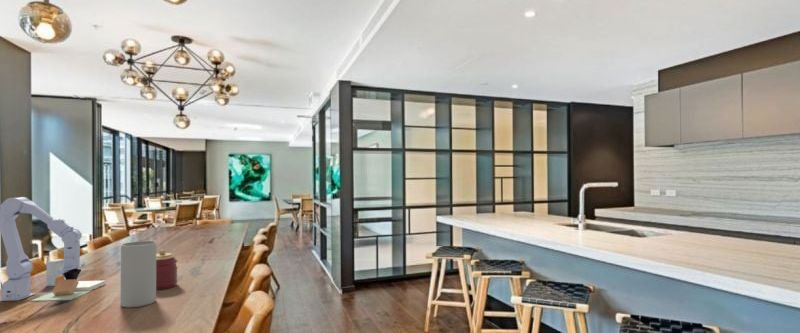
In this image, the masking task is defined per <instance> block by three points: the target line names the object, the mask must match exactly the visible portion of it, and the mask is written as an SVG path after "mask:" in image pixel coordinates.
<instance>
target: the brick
mask: <svg viewBox="0 0 800 333" xmlns="http://www.w3.org/2000/svg"><path fill="white" fill-rule="evenodd" d="M77 285H78V280H76V279H70V280H66V279H64V280H58V282H57V284H56V285H55V286H53V288H52V290H51V293H53V294H54V295H72V294H73V293H74V291H75V289H76V287H77Z"/></svg>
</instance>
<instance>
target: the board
mask: <svg viewBox="0 0 800 333" xmlns="http://www.w3.org/2000/svg"><path fill="white" fill-rule="evenodd" d="M77 281H78V280H77ZM105 285H106V280H79V281H78V285H77V287H76V289H75V291H91V292H92V291H94V290H95V289H98V288H101V287H103V286H105ZM100 286H101V287H100ZM93 289H94V290H93Z"/></svg>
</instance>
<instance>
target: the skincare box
mask: <svg viewBox="0 0 800 333" xmlns="http://www.w3.org/2000/svg"><path fill="white" fill-rule="evenodd" d="M62 267H64V258H56V259H52V260H49V261H46V275H45V279H46V280H45V281H46V282H45V283H46V285H45V286H46V287H55V285H56V284H57V282H58V280H65V277H64V275H63V274H58V269H61V268H62Z"/></svg>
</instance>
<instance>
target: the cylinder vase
mask: <svg viewBox="0 0 800 333" xmlns="http://www.w3.org/2000/svg"><path fill="white" fill-rule="evenodd" d="M156 254H157V241H155V240H141V241H140V240H138V241H131V242H125V243H121V244H120V302H119V303H120V306H121V308H127V309H128V308H130V309H131V308H140V307H141V308H142V307H146V306H149V305H151V304H153V303H155V302H156V300H157V290H156Z"/></svg>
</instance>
